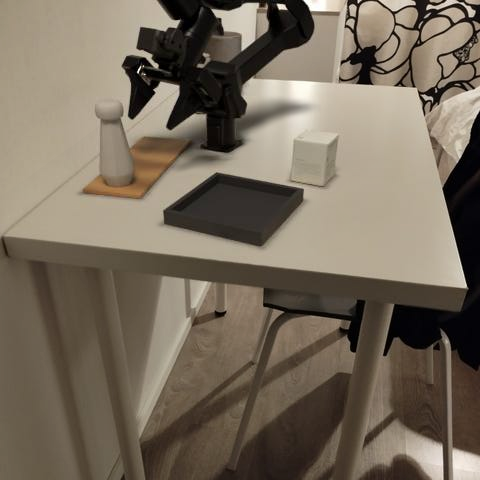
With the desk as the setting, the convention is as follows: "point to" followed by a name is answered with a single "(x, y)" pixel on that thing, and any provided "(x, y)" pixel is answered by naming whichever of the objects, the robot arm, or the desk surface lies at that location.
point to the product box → (314, 157)
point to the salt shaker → (114, 144)
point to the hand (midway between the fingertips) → (148, 123)
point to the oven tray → (235, 208)
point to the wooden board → (143, 166)
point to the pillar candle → (224, 46)
